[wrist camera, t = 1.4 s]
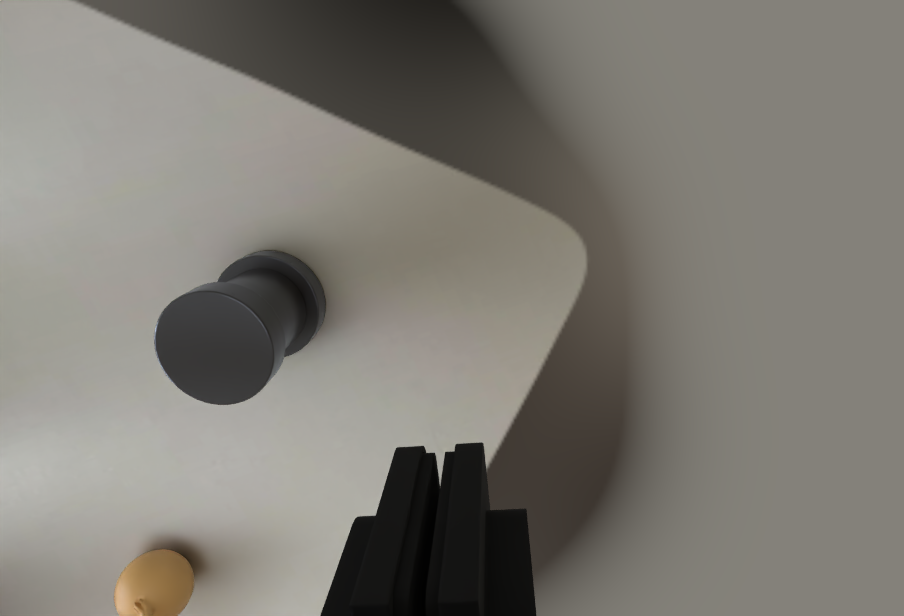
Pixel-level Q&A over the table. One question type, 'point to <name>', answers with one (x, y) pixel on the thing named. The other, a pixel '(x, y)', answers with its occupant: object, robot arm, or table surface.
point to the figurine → (154, 585)
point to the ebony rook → (239, 327)
